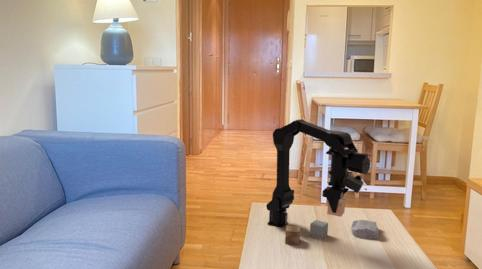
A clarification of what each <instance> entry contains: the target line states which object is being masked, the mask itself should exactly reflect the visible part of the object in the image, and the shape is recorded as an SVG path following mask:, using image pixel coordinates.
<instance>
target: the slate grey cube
mask: <svg viewBox="0 0 482 269" xmlns="http://www.w3.org/2000/svg"><path fill="white" fill-rule="evenodd" d="M309 226H310V227H309V237H313V238H316V239H319V240H323V239H324V238H326V236H328V232H329V222H327V221H322V220H320V219H315V220H314V221H312V222H311V223H310V225H309Z"/></svg>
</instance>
